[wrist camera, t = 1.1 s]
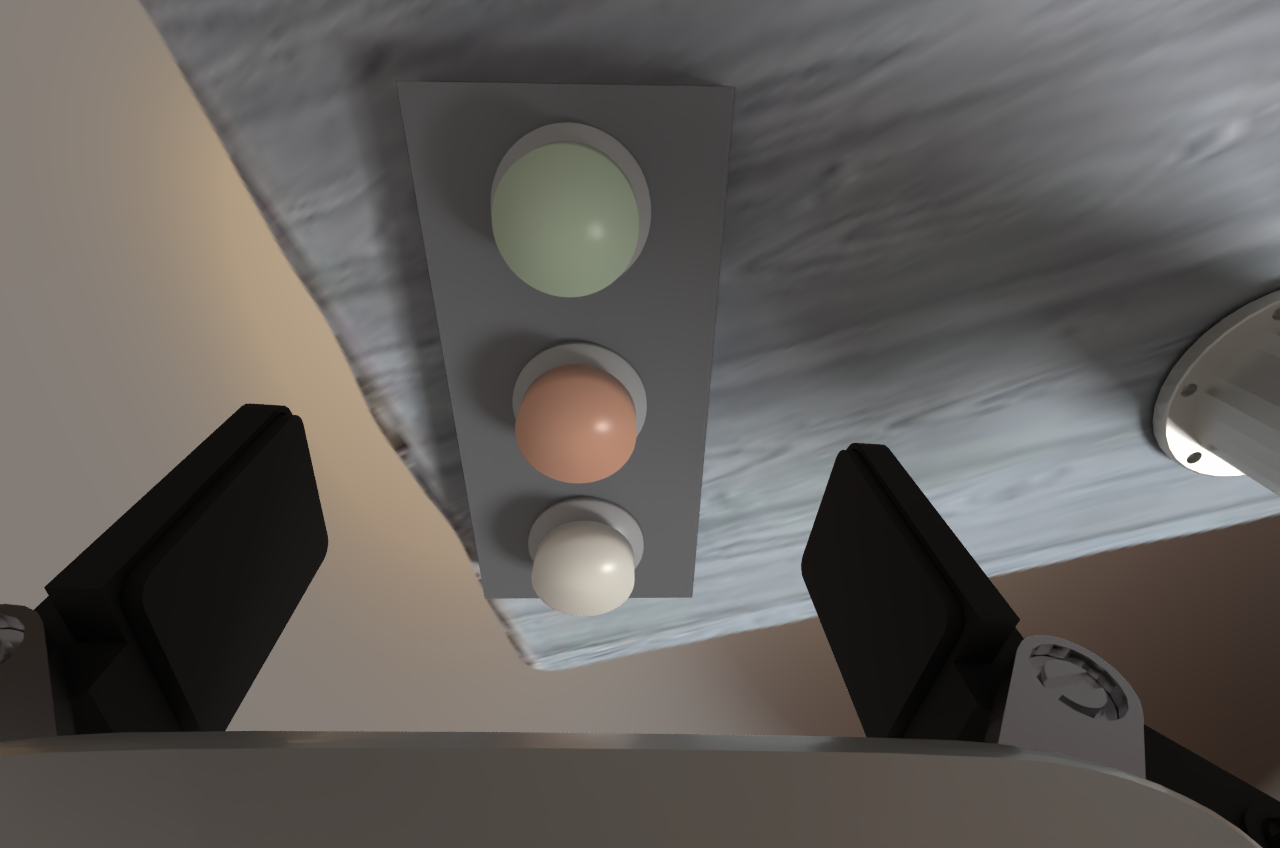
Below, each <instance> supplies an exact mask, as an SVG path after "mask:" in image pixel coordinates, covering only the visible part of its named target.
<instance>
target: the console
mask: <svg viewBox="0 0 1280 848" xmlns="http://www.w3.org/2000/svg"><path fill="white" fill-rule="evenodd" d="M396 84H397V89H398V95H399V101H400V107H401V113H402V119H403V124H404V130H405V136H406V142H407V148H408V153H409V159H410V165H411V171H412V177H413V183H414V188H415V194H416V200H417V206H418V212H419V217H420V223H421V229H422V235H423V241H424V247H425V252H426V258H427V264H428V270H429V276H430V281H431V287H432V293H433V299H434V305H435V311H436V316H437V322H438V328H439V334H440V340H441V345H442V351H443V357H444V363H445V369H446V375H447V380H448V386H449V392H450V398H451V404H452V409H453V415H454V421H455V427H456V433H457V439H458V444H459V450H460V456H461V462H462V468H463V473H464V479H465V485H466V491H467V497H468V503H469V508H470V514H471V520H472V526H473V532H474V537H475V543H476V549H477V555H478V561H479V567H480V572H481V578H482V584H483V590H484V596H485V598H539V597H538V595H537V594H536V592H535V590H534V588H533V585H532V570H533V565H534V560H535V555H536V549H537V546H538V544H539V542H540V540H541V539H542V538H543V536H544V535H545V534H547V533H548V532H549V531H550V530H552V529H553V528H555V527H557V526H559V525H562V524H564V523H568V522H573V521H594V522H599V523H603V524H606V525H608V526H611V527H613V528H614V529H616V530H618V531H619V532H620V533H622V534H623V535H624V536H625V537H626V538H627V540H628V541H629V543H630V544H631V546H632V549H633V552H634V575H635V581H634V587H633V590H632V592H631V594H630V596H629V597H628V598H672V597H692V594H693V582H694V570H695V558H696V546H697V534H698V523H699V511H700V499H701V487H702V475H703V463H704V452H705V440H706V428H707V416H708V404H709V392H710V380H711V369H712V357H713V345H714V333H715V321H716V309H717V298H718V286H719V274H720V262H721V250H722V238H723V226H724V215H725V203H726V191H727V179H728V167H729V155H730V143H731V132H732V120H733V108H734V96H735V87H728V86H672V85H611V84H550V83H488V82H427V81H396ZM556 141H574V142H579V143H584V144H587V145H589V146H592V147H595V148H596V149H598V150H600V151H602V152H603V153H605V154H606V155H608V156H609V157H610V158H611V159H612V160H614V161H615V162H616V163H617V164H618V165H619V167H620V168H621V169H622V170H623V172H624V173H625V175H626V176H627V178H628V180H629V181H630V183H631V186H632V188H633V190H634V193H635V197H636V200H637V206H638V215H639V236H638V241H637V246H636V249H635V252H634V255H633V257H632V259H631V261H630V263H629V264H628V266H627V267H626V269H625V270H624V272H623V273H622V274H621V275H620V276H619V277H618V278H617V279H616V280H615V281H614V282H613V283H611V284H610V285H609V286H607V287H605V288H604V289H602V290H600V291H598V292H596V293H593V294H590V295H586V296H581V297H559V296H554V295H550V294H547V293H544V292H541V291H539V290H537V289H535V288H533V287H531V286H530V285H528V284H527V283H525V282H524V281H523V280H521V279H520V278H519V277H518V276H517V275H516V274H515V273H514V272H513V271H512V270H511V269H510V267H509V266H508V265H507V263H506V262H505V260H504V259H503V257H502V255H501V254H500V251H499V249H498V247H497V244H496V241H495V238H494V234H493V229H492V216H491V215H492V204H493V200H494V195H495V192H496V190H497V187H498V185H499V183H500V181H501V179H502V177H503V176H504V174H505V173H506V172H507V170H508V169H509V168H510V167H511V166H512V165H513V164H514V163H515V162H516V161H517V160H519V159H520V158H521V157H522V156H524V155H525V154H527V153H528V152H529V151H531V150H533V149H535V148H537V147H539V146H541V145H544V144H547V143H551V142H556ZM570 364H581V365H589V366H593V367H596V368H600V369H602V370H604V371H606V372H608V373H610V374H611V375H613V376H614V377H616V378H617V379H618V380H619V381H620V382H621V383H622V384H623V385H624V386H625V387H626V389H627V390H628V391H629V393H630V395H631V397H632V399H633V402H634V405H635V410H636V443H635V447H634V450H633V452H632V454H631V456H630V458H629V459H628V461H627V462H626V463H625V464H624V465H623V466H622V467H621V468H620V469H619V470H618V471H617V472H615V473H614V474H612V475H610V476H608V477H606V478H604V479H602V480H598V481H595V482H590V483H579V484H578V483H567V482H562V481H558V480H555V479H552V478H550V477H548V476H546V475H544V474H542V473H541V472H539V471H538V470H536V469H535V468H534V467H533V466H532V465H530V463H529V462H528V461H527V460H526V459H525V457H524V456H523V455H522V453H521V451H520V449H519V447H518V444H517V441H516V436H515V424H516V419H517V415H518V412H519V409H520V406H521V403H522V400H523V397H524V395H525V393H526V391H527V389H528V388H529V386H530V385H531V384H532V382H533V381H534V380H535V379H536V378H538V377H539V376H540V375H542V374H543V373H545V372H546V371H548V370H551V369H553V368H556V367H559V366H563V365H570Z"/></svg>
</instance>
